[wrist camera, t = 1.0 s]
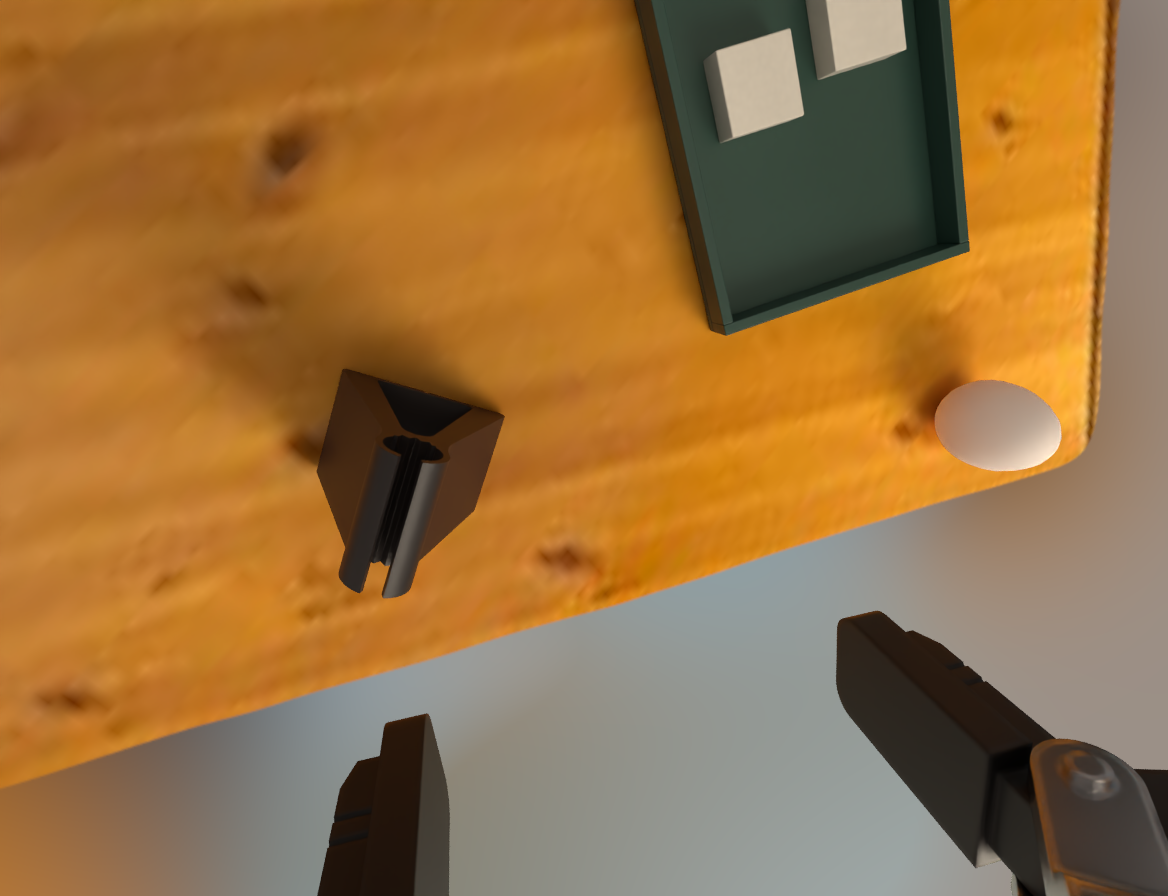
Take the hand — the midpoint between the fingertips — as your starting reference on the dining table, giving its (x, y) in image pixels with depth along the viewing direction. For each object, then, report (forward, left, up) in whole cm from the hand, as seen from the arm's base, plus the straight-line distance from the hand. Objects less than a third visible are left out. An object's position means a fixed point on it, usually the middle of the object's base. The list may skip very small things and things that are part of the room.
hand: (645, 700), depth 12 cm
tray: (-10, +19, -26) cm, 34 cm away
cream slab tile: (-13, +22, -25) cm, 36 cm away
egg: (+10, +26, -26) cm, 38 cm away
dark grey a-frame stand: (0, -7, -26) cm, 27 cm away
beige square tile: (-12, +16, -25) cm, 32 cm away
